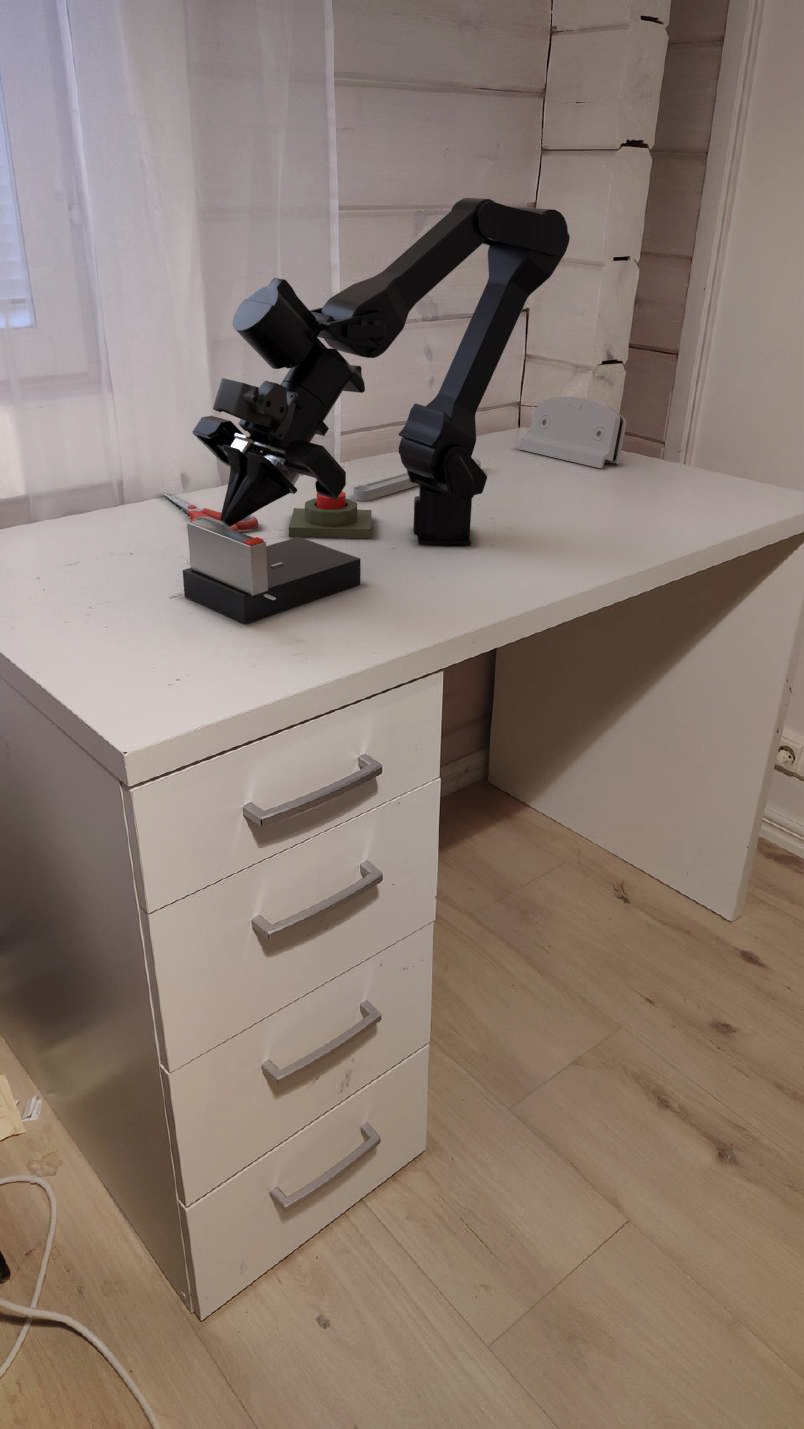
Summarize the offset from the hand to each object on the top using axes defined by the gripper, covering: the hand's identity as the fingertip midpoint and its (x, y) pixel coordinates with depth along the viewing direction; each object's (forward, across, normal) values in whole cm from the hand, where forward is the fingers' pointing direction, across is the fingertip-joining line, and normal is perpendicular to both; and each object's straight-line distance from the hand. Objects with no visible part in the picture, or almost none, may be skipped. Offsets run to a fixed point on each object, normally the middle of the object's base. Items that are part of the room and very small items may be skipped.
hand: (225, 523), depth 103 cm
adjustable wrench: (-28, -16, +38) cm, 50 cm away
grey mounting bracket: (-50, -10, +60) cm, 79 cm away
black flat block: (+5, +4, +6) cm, 8 cm away
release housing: (-11, -9, +22) cm, 26 cm away
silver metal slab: (+5, +3, +1) cm, 6 cm away
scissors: (-4, -24, +14) cm, 28 cm away
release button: (-13, -9, +20) cm, 25 cm away
